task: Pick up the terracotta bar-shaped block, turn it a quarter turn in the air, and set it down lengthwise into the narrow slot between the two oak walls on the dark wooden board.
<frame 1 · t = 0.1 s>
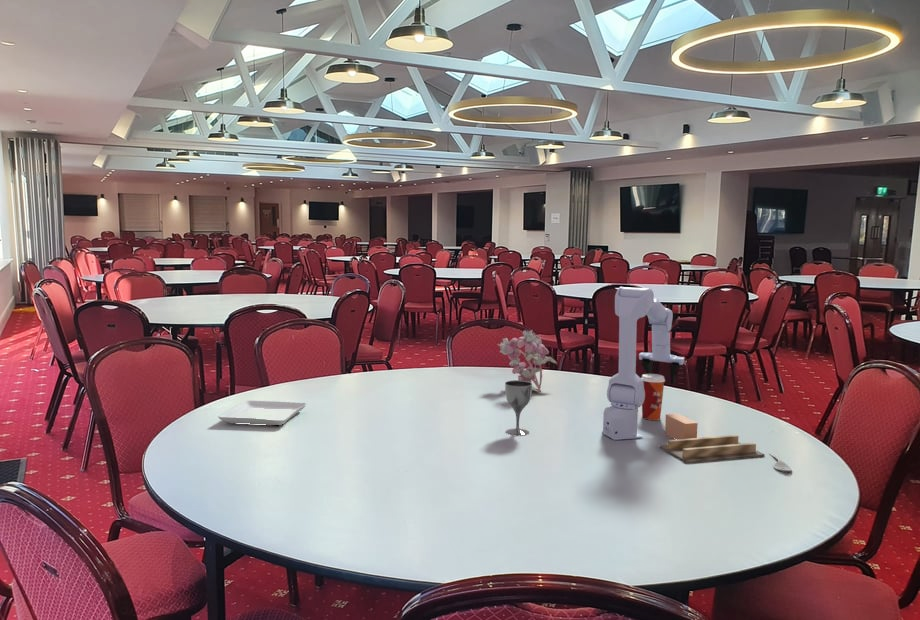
hand: (661, 381, 217), 11 cm above the table, tool pointing down, fingers open, 7 cm apart
block: (680, 438, 191), on the table
wooden stand: (710, 451, 179), on the table
flower: (526, 387, 253), on the table
paper cup: (651, 418, 212), on the table
spoon: (776, 463, 173), on the table
salad plate: (264, 420, 207), on the table
wine glass: (517, 432, 195), on the table
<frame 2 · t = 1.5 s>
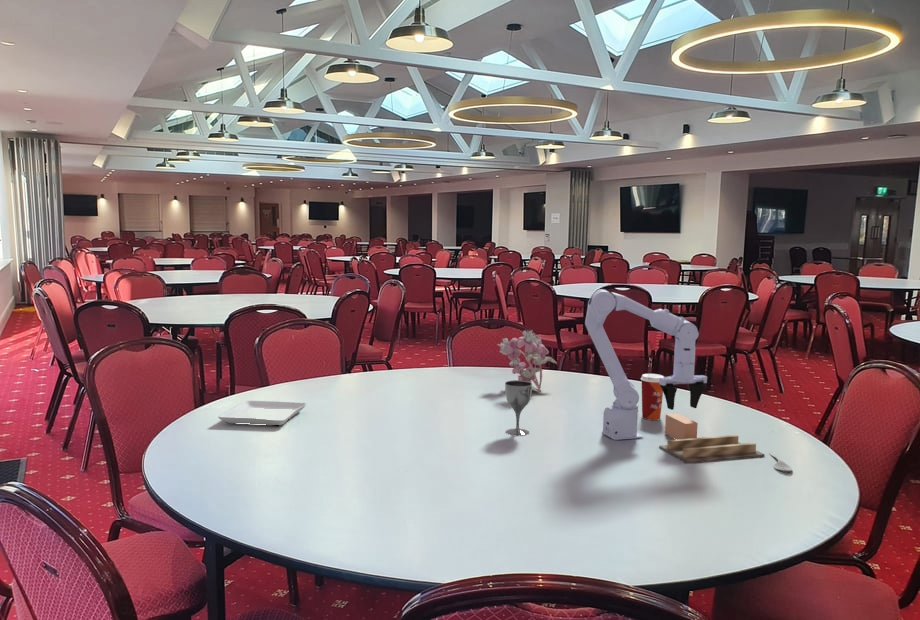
hand: (681, 408, 190), 9 cm above the table, tool pointing down, fingers open, 7 cm apart
nothing on the table moved.
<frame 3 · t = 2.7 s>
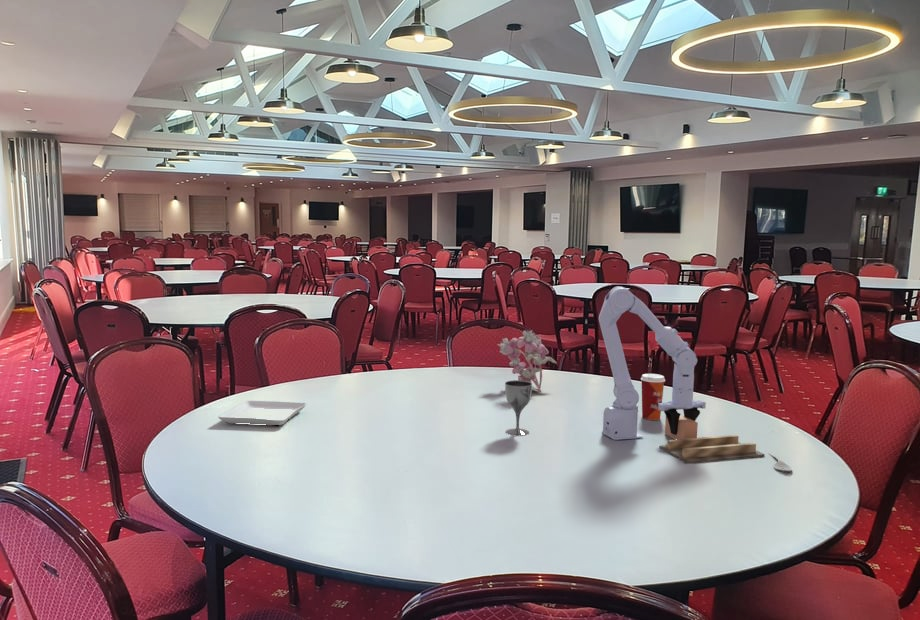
hand: (680, 433, 191), 1 cm above the table, tool pointing down, fingers closed on block, 4 cm apart
block: (680, 438, 191), on the table, touching gripper
everything else where it was.
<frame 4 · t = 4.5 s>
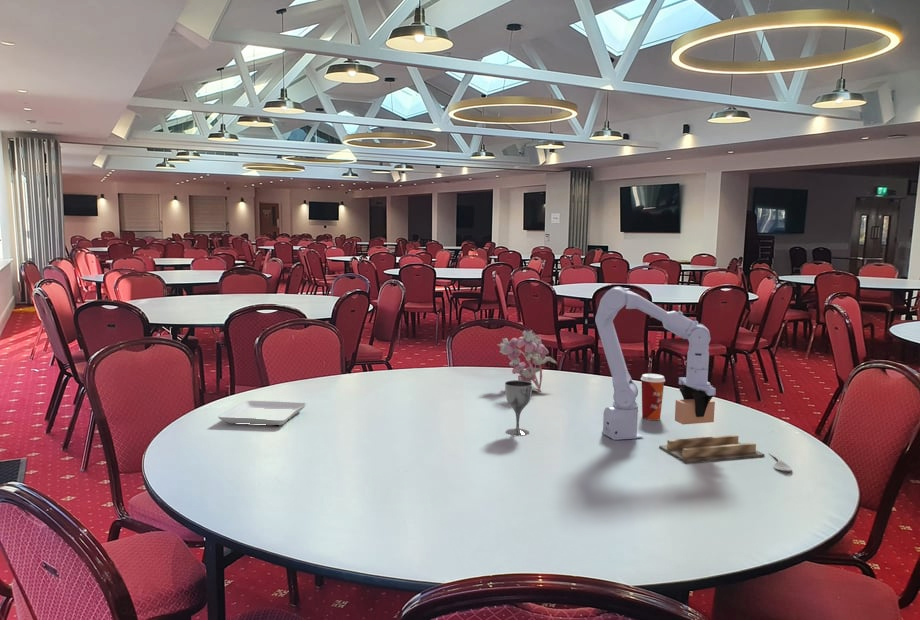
hand: (695, 414, 186), 8 cm above the table, tool pointing down, fingers closed on block, 4 cm apart
block: (694, 421, 186), point 6 cm above the table, touching gripper
everything else where it was.
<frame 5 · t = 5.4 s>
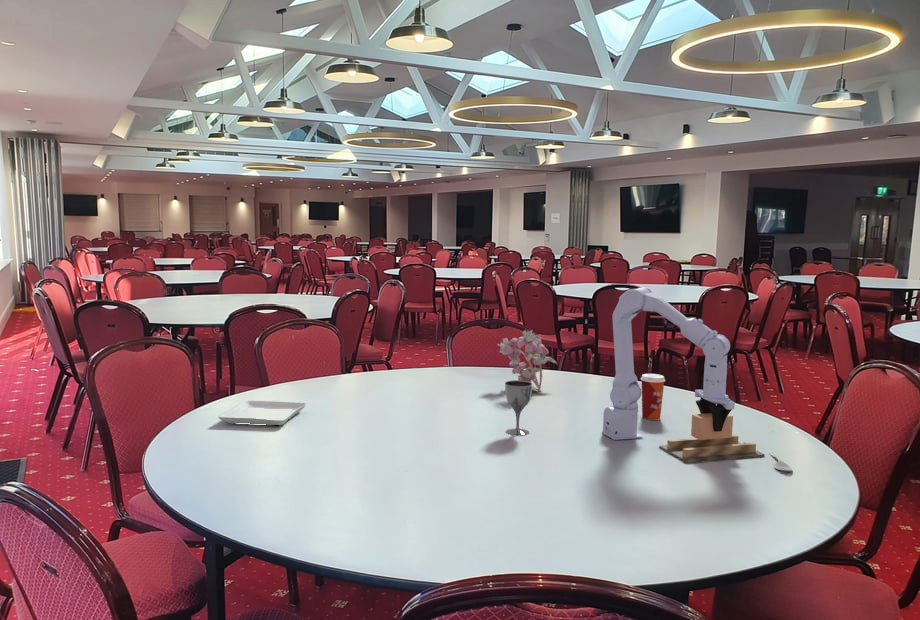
hand: (712, 428, 178), 7 cm above the table, tool pointing down, fingers closed on block, 4 cm apart
block: (711, 436, 178), point 4 cm above the table, touching gripper
everything else where it was.
when the fingers open (5 cm above the table, at t = 6.2 s): block drops 1 cm, resting on wooden stand.
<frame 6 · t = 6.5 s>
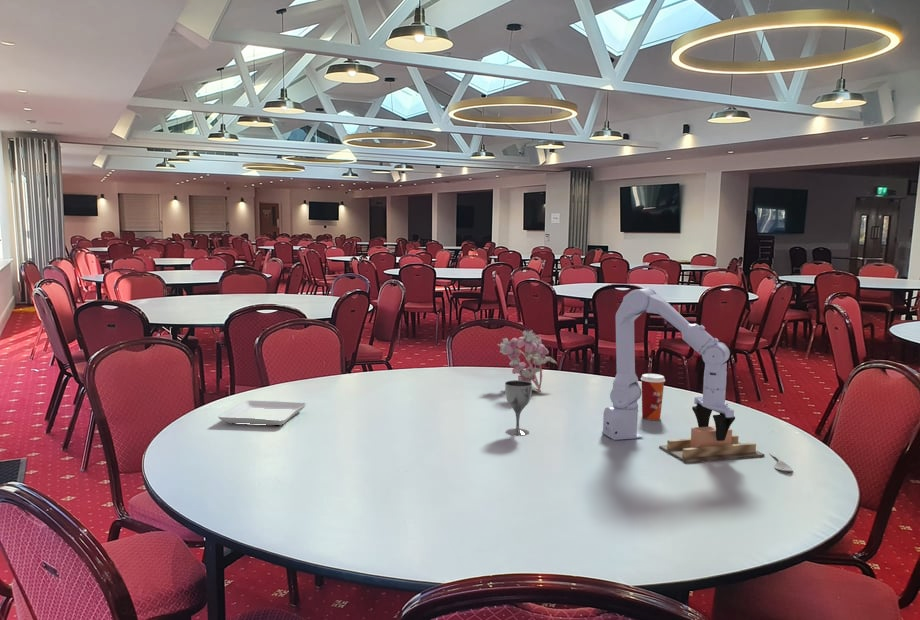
hand: (711, 436, 178), 5 cm above the table, tool pointing down, fingers open, 7 cm apart
block: (710, 449, 179), point 1 cm above the table, touching wooden stand
everything else where it was.
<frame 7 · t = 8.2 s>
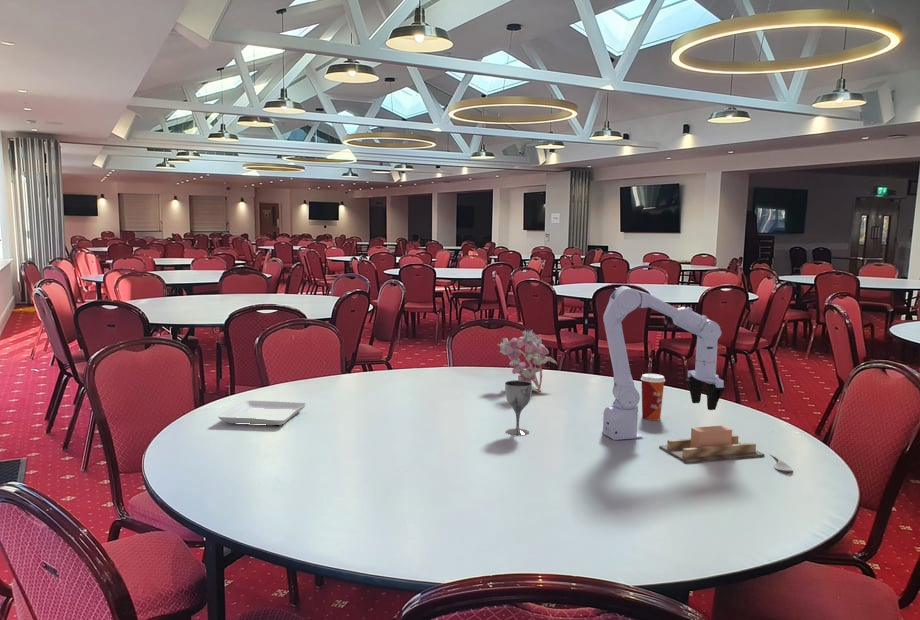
hand: (703, 406, 191), 9 cm above the table, tool pointing down, fingers open, 7 cm apart
nothing on the table moved.
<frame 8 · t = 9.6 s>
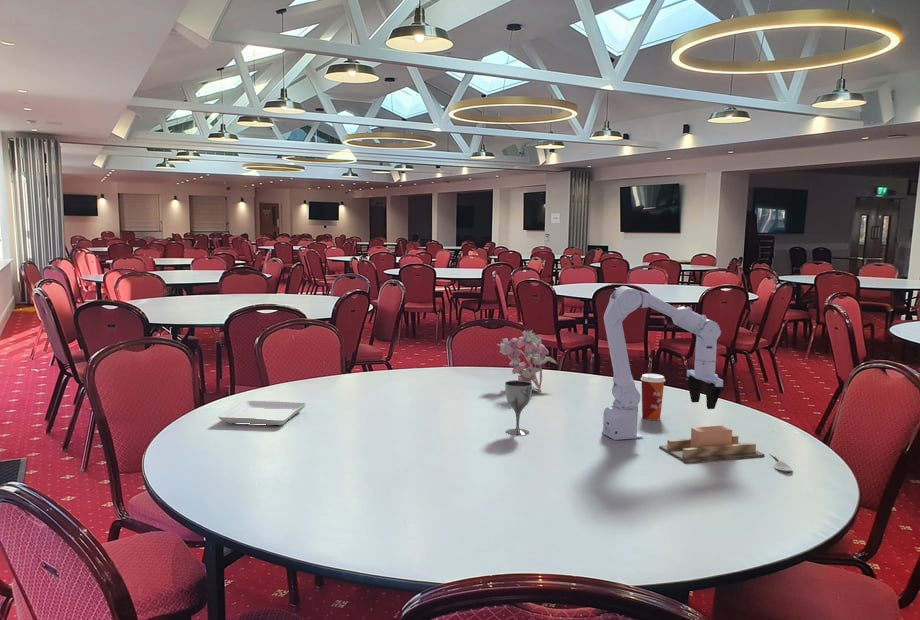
hand: (702, 405, 192), 9 cm above the table, tool pointing down, fingers open, 7 cm apart
nothing on the table moved.
at the end: block inside the target area on the wooden stand (0.1 cm from its centre), point 0.6 cm above the wooden stand's base; block tilted 0°; the gripper is holding nothing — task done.
